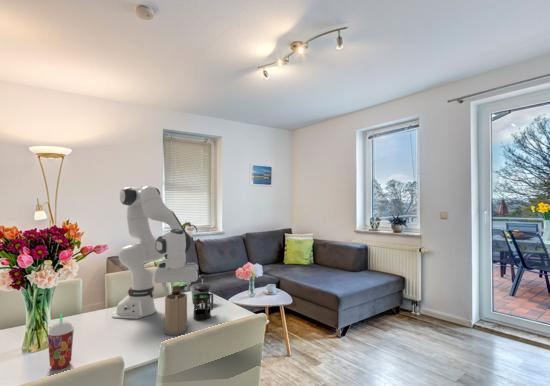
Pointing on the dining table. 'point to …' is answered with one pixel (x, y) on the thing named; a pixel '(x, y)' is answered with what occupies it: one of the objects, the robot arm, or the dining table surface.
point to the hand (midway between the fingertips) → (176, 291)
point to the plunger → (176, 290)
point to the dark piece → (197, 293)
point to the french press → (202, 308)
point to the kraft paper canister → (175, 315)
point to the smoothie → (60, 343)
